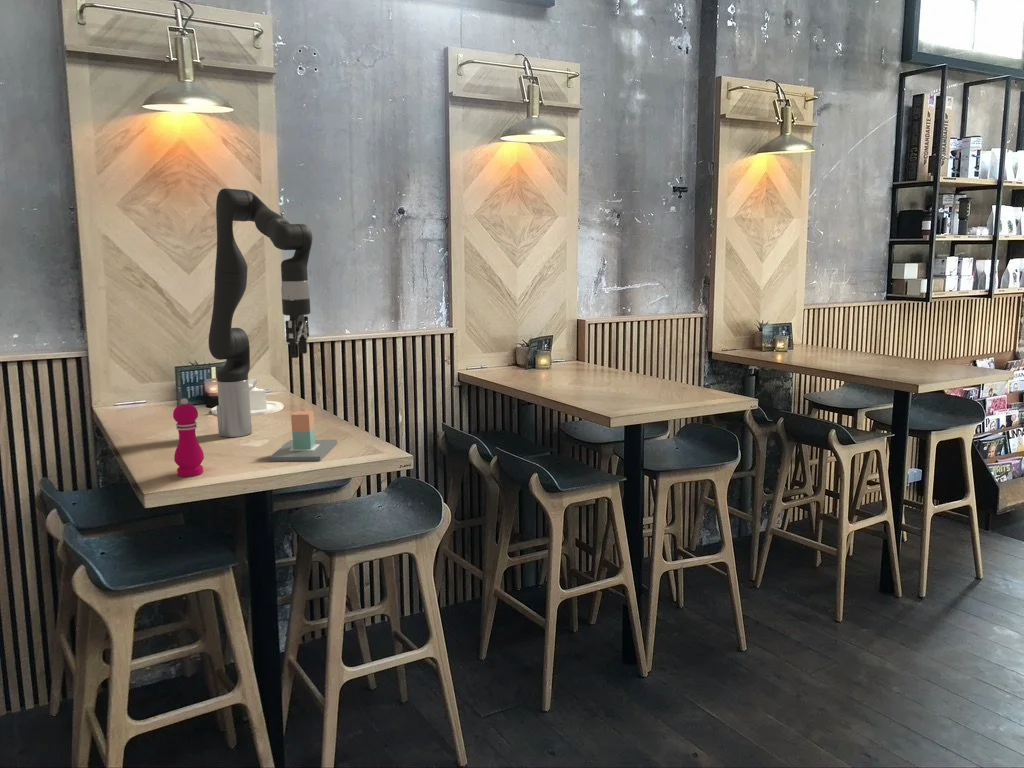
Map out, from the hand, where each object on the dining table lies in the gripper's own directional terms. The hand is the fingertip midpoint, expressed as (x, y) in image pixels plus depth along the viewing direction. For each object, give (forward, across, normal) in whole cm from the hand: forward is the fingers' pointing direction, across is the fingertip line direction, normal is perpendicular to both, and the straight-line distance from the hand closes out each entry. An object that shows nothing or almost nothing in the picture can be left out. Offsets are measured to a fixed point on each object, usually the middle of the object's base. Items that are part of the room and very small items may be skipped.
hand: (298, 355), depth 237 cm
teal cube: (+26, 0, 0) cm, 26 cm away
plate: (+28, 0, 0) cm, 28 cm away
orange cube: (+21, 0, 0) cm, 21 cm away
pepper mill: (+28, +22, -24) cm, 43 cm away
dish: (+29, -64, -38) cm, 80 cm away
